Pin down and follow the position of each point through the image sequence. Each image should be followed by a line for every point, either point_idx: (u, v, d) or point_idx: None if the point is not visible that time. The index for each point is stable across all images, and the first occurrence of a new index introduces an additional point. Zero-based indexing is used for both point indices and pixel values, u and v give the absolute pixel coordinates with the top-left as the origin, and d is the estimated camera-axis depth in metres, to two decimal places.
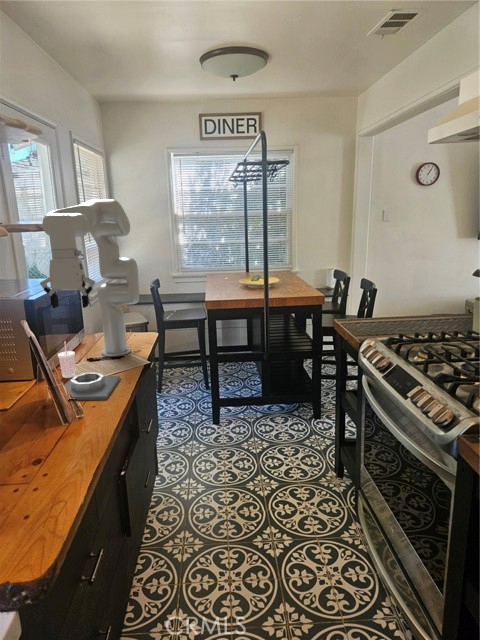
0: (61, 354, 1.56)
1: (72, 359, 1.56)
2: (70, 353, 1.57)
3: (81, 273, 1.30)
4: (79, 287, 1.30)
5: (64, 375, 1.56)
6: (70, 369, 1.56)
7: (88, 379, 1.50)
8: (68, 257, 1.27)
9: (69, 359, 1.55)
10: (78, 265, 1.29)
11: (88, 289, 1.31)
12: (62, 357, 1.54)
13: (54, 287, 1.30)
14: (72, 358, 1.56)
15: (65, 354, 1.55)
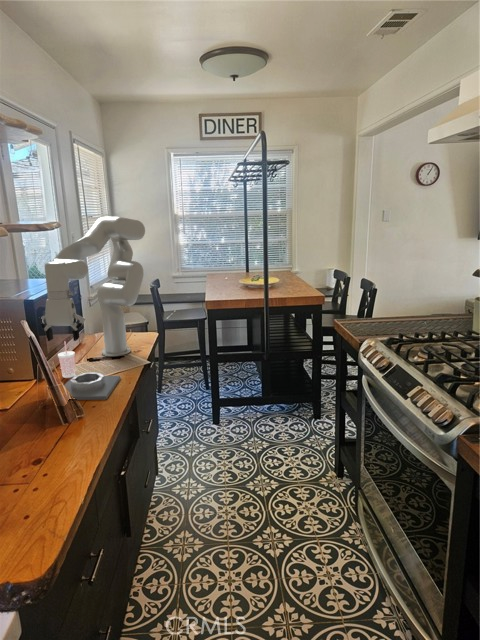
0: (61, 354, 1.56)
1: (72, 359, 1.56)
2: (70, 353, 1.57)
3: (73, 311, 1.51)
4: (71, 323, 1.51)
5: (64, 375, 1.56)
6: (70, 369, 1.56)
7: (88, 379, 1.50)
8: (62, 298, 1.48)
9: (69, 359, 1.55)
10: (70, 305, 1.50)
11: (78, 325, 1.52)
12: (62, 357, 1.54)
13: (49, 323, 1.51)
14: (72, 358, 1.56)
15: (65, 354, 1.55)
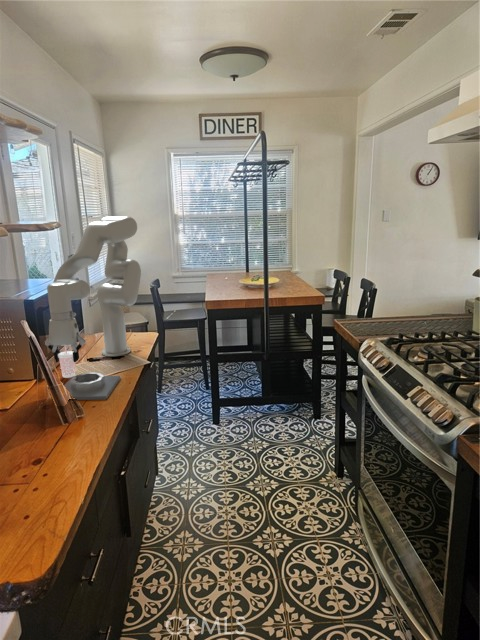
0: (61, 354, 1.56)
1: (72, 359, 1.56)
2: (70, 353, 1.57)
3: (76, 331, 1.53)
4: (74, 343, 1.53)
5: (64, 375, 1.56)
6: (70, 369, 1.56)
7: (88, 379, 1.50)
8: (64, 319, 1.50)
9: (69, 359, 1.55)
10: (73, 325, 1.52)
11: (78, 347, 1.55)
12: (62, 357, 1.54)
13: (53, 343, 1.53)
14: (72, 358, 1.56)
15: (65, 354, 1.55)
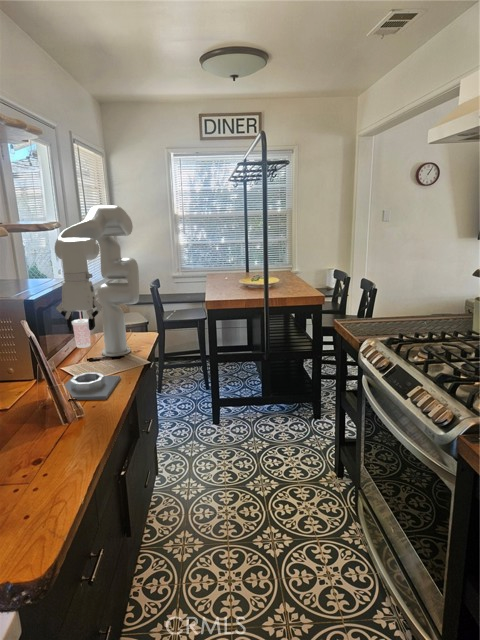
0: (75, 321, 1.39)
1: (87, 327, 1.39)
2: (85, 320, 1.40)
3: (92, 295, 1.37)
4: (90, 308, 1.37)
5: (78, 345, 1.40)
6: (85, 338, 1.39)
7: (88, 379, 1.50)
8: (80, 280, 1.33)
9: (84, 327, 1.38)
10: (89, 288, 1.36)
11: (94, 313, 1.38)
12: (76, 324, 1.37)
13: (66, 308, 1.37)
14: (87, 326, 1.39)
15: (80, 321, 1.39)
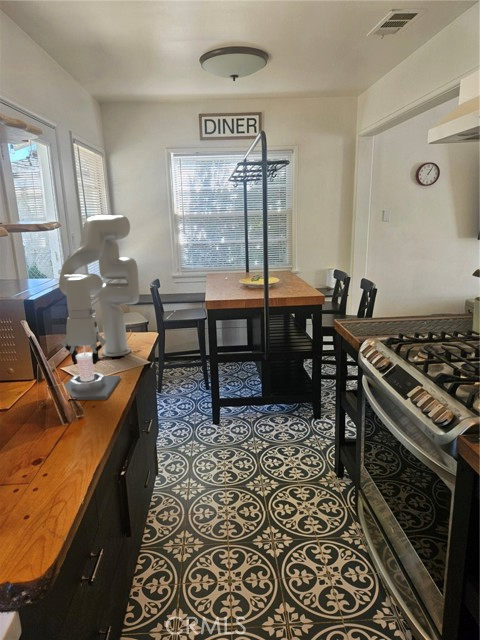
0: (79, 355, 1.42)
1: (91, 361, 1.43)
2: (89, 354, 1.43)
3: (95, 330, 1.40)
4: (94, 343, 1.40)
5: (82, 378, 1.43)
6: (89, 372, 1.43)
7: None
8: (84, 317, 1.37)
9: (88, 361, 1.41)
10: (93, 324, 1.39)
11: (98, 347, 1.42)
12: (80, 359, 1.40)
13: (70, 344, 1.40)
14: (91, 360, 1.42)
15: (84, 355, 1.42)
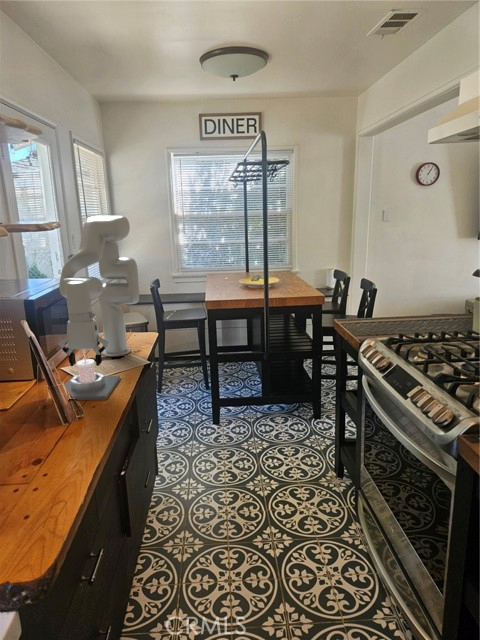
0: (80, 363, 1.43)
1: (92, 368, 1.43)
2: (89, 361, 1.44)
3: (96, 334, 1.40)
4: (94, 347, 1.40)
5: None
6: (90, 379, 1.44)
7: None
8: (84, 321, 1.37)
9: (89, 368, 1.42)
10: (93, 327, 1.39)
11: (101, 349, 1.42)
12: (81, 366, 1.41)
13: (71, 347, 1.40)
14: (92, 367, 1.43)
15: (84, 363, 1.43)
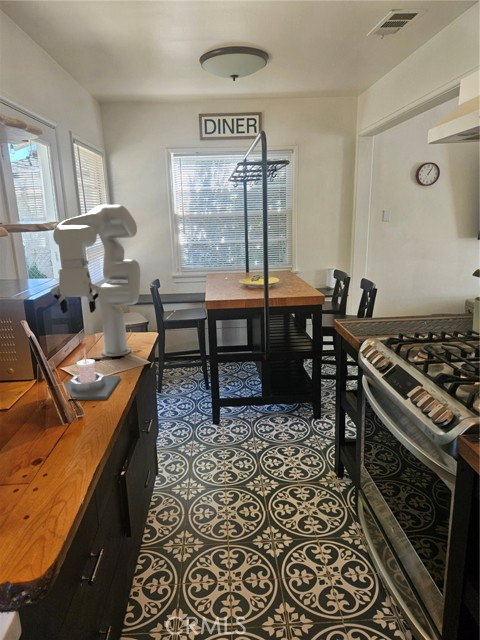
0: (80, 362, 1.43)
1: (92, 368, 1.44)
2: (90, 361, 1.44)
3: (88, 281, 1.42)
4: (87, 294, 1.42)
5: None
6: (90, 379, 1.44)
7: None
8: (76, 267, 1.38)
9: (89, 368, 1.42)
10: (86, 274, 1.40)
11: (95, 295, 1.43)
12: (82, 366, 1.41)
13: (64, 294, 1.41)
14: (92, 367, 1.44)
15: (85, 362, 1.43)
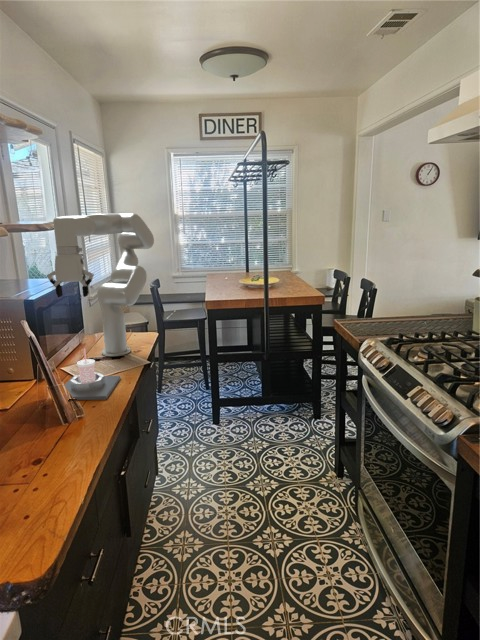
0: (80, 362, 1.43)
1: (92, 368, 1.44)
2: (90, 361, 1.44)
3: (82, 267, 1.52)
4: (80, 279, 1.52)
5: None
6: (90, 379, 1.44)
7: None
8: (71, 253, 1.49)
9: (89, 368, 1.42)
10: (79, 260, 1.51)
11: (88, 281, 1.54)
12: (82, 366, 1.41)
13: (59, 279, 1.52)
14: (92, 367, 1.44)
15: (85, 362, 1.43)
